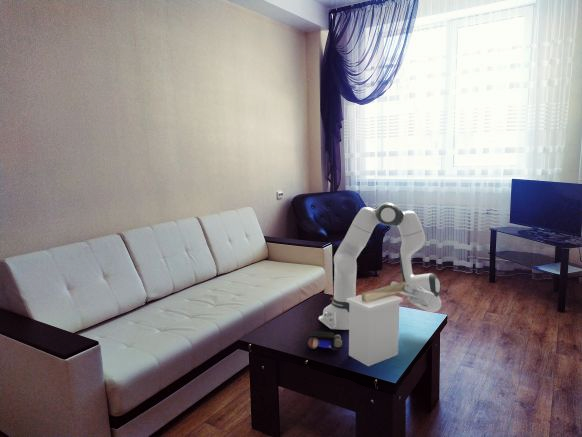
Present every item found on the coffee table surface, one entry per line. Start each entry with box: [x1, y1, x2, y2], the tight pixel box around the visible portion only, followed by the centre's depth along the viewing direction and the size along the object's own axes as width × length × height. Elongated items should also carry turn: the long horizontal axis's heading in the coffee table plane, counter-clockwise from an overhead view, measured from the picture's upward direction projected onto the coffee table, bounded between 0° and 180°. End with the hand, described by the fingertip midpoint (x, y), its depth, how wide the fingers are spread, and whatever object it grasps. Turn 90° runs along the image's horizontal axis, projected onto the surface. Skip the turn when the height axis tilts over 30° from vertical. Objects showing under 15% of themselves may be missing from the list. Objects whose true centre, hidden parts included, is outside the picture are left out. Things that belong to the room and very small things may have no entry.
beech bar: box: [361, 281, 408, 302], centre depth 185 cm, size 3×26×3 cm, turn 124°
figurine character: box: [307, 330, 343, 351], centre depth 193 cm, size 7×8×15 cm
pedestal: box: [346, 294, 404, 367], centre depth 184 cm, size 14×20×26 cm
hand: (400, 286), depth 190 cm, fingers closed on beech bar, 3 cm apart
